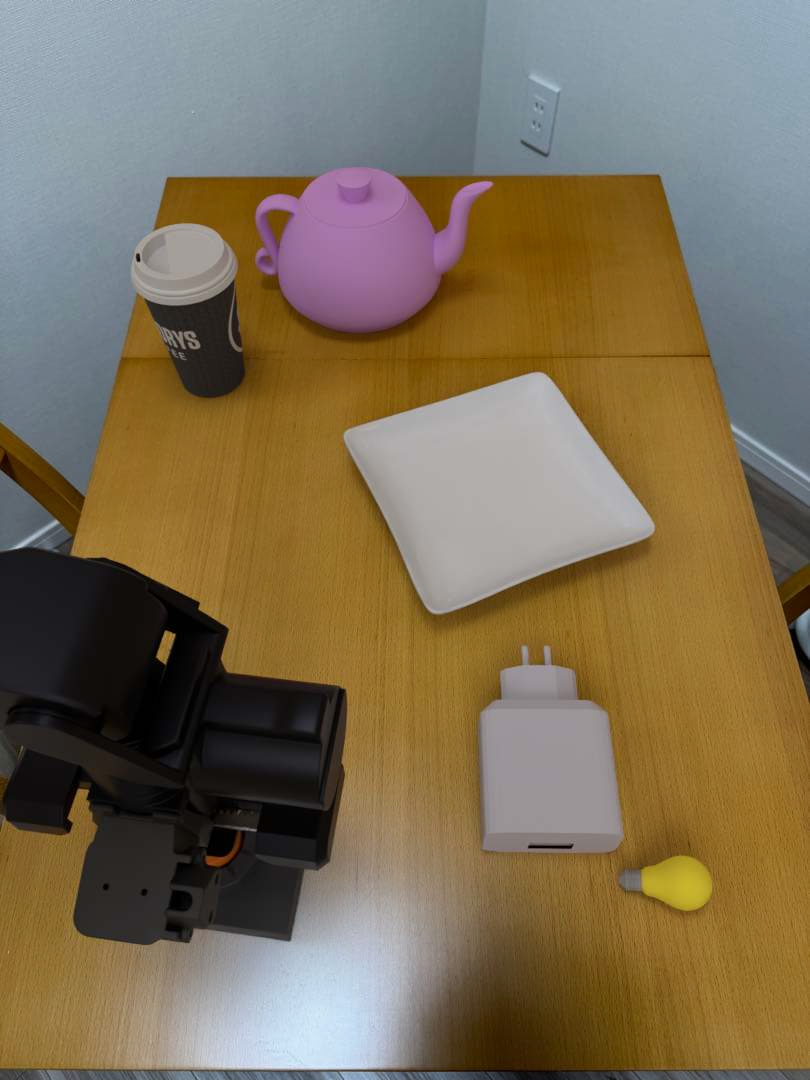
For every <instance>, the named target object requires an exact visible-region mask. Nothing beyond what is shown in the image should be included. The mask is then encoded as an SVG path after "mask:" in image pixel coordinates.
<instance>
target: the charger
mask: <svg viewBox="0 0 810 1080" xmlns="http://www.w3.org/2000/svg"><path fill="white" fill-rule="evenodd" d="M520 648H521V661H522V665H517V666H513V667H506V668H503V669H502V670H500V671H499V675H500V692H501V694H500V695H501V699H494V700H493V701H492V702H490V703H489V705H488V706H486V707H485V708H484V709H483V710H482V711H481V712H480V713H479V718H478V727H477V738H478V739H477V741H478V742H477V747H478V771H479V772H478V773H479V774H478V775H479V798H480V799H479V803H480V804H479V805H480V828H481V829H480V830H481V849H482V850H484V851H487V852H497V853H555V854H557V853H559V854H560V853H561V854H564V853H565V854H567V853H568V854H571V853H572V854H576V853H577V854H600V853H601V854H602V853H611V852H615V851H616V850H617V849H618V847H619V846H620V844H621V843H622V842H623V840H624V838H625V834H624V826H623V825H624V824H623V817H622V810H621V802H620V795H619V787H618V778H617V772H616V763H615V756H614V749H613V740H612V734H611V724H610V716H609V713H608V712H607V711H606V710H605V709H604V708H602V707H601V706H599V705H598V704H597V703H596V702H594V701H593V700H590V699H589V700H588V699H579V697H578V686H577V677H576V671H575V670H573V669H572V668H567V667H564V666H559V665H555V664H553V662H552V661H553V660H552V651H551V646H549V645H544V646H543V658H544V664H530V655H529V654H530V652H529V646H528V645H525V644H524V645H522V646H521V647H520ZM529 846H567V847H568V846H570V847H571V846H572V847H571V848H529Z"/></svg>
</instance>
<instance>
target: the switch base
mask: <svg viewBox="0 0 810 1080" xmlns="http://www.w3.org/2000/svg"><path fill="white" fill-rule="evenodd" d="M247 812H248V811H245V810H244V816H245V815H246V813H247ZM250 813H251V817H252V816H253V814H254V812H252V811H250ZM257 816H258V818H259V816H260V812H257ZM242 831H243V846H242V849H241V852H240V853H239V854H238V855H237V856H236V857H235V859H234V860H233V861H232V862H231V863H230V865H229V866H227V867H224V868H222V869H221V872H222V878H221V884H220V890H219V896H218V902H217V909H216V914H215V918H214V921H213V923H212V925H210V926H209V927H208V928H206V929H205V930H207V931H214V932H222V933H227V934H228V933H229V934H235V935H243V936H248V937H257V938H262V939H263V938H264V939H270V940H277V941H284V942H291V940H292V935H293V930H294V924H295V921H296V920H295V919H296V915H297V910H298V903H299V899H300V894H301V889H302V883H303V877H304V874H305V873H304V872H305V869H302V868H295V867H287V866H280V865H273V864H270V863H267V862H265V861H262V860H259V859H258V858H257V857H256V855H255V843H256V832H251V831H244V830H242Z"/></svg>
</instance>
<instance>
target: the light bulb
mask: <svg viewBox="0 0 810 1080" xmlns="http://www.w3.org/2000/svg"><path fill="white" fill-rule="evenodd" d="M618 884H619V885H620V886H621V887H622V888H623V889H624V890H625V892H631V891H632V892H634V891H635V892H638V893H639V892H642V893H643V894H644V895H646V896H647V897H651V898H656V899H658V900H660V901H661V902H663V903H665V904H667V905H668V906H670V907H672V908H674V909H677V910H681V911H685V912H689V911H696V910H698V909H700V908H702V907H704V905H706V903H708V901H709V900H710V898H711V896H712V893H713V884H714V883H713V878H712V876H711V873H710V872H709V870H708V868H707V867H706V866H705V865H704V864H703V863H702V862H701V861H700V860H699V859H696V858H694V857H693V856H689V855H685V854H681V855H673V856H671V857H669V858H666V859H664V860H662V861H660V862H658V863H656V864H655V865H645V866H644V867H643V868H642V869H641V870H640V869H637V870H636V869H634V870H633V869H626V868H625V870H623V872H622V873H621V874H620V875H619V876H618Z"/></svg>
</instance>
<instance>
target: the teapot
mask: <svg viewBox="0 0 810 1080" xmlns="http://www.w3.org/2000/svg"><path fill="white" fill-rule="evenodd" d="M493 185H494V182H492V181H489V180H488V181H487V180H485V181H478V182H474V183H471V184H467V185H466V186H464V187H462V188H461V189H460V190H459V191H457V193H456V194H455V195H454V198H453V199H452V202H451V205H450V211H449V220H448V223H447V225H446V227H445V228H443V229H441V230H440V231H438V232H436V231H435V229H434V227H433V224H432V222H431V220H430V218H429V217H428V215H427V213H426V211H425V210H424V208H423V207H422V205H421V204H420V202H418V200H417V199H416V198H415V196H414V195H413V193H412V191H410V189H409V188H408V187H407V186H406V184H405V183H403V182H402V181H401V180H400V179H399V178H398V177H396V176H395V175H393V174H391V173H389V172H386V171H384V170H381V169H378V168H373V167H365V166H364V167H363V166H350V167H344V168H343V167H342V168H338V169H334V170H331V171H328V172H326V173H323V174H322V175H320V176H318V177H316V178H315V179H314V180H313V181H311V183H309V185H308V186H307V187H306V188H305V190H303V192H302V194H301V195H300V197H299V198H297V197H295V196H293V195H289V194H285V193H277V194H273V195H270V196H267V197H265V198H264V199H263V200H261V202H260V203H259V204H258V206H257V208H256V211H255V215H254V218H255V226H256V230H257V233H258V235H259V237H260V240H261V242H262V243H263V245H264V246H263V247H261V248H259V249H258V250H257V252H256V254H255V255H254V262H255V267H256V268H257V269H258V270H259V272H261V273H262V274H264V275H266V276H271V277H274V276H277V277H278V283H279V287H280V291H281V292H282V294H283V296H284V297H285V299H286V301H287V302H288V303H289V304H290V305H291V307H292V308H293V309H295V310H296V311H297V312H298V313H299V314H301V315H302V316H304V317H305V318H306V319H308V320H310V321H312V322H313V323H315V324H317V325H320V326H322V327H324V328H327V329H330V330H333V331H336V332H342V333H348V334H349V333H350V334H368V333H369V334H370V333H376V332H380V331H385V330H389V329H391V328H394V327H397V326H399V325H400V324H402V323H404V322H406V321H407V320H409V319H411V318H412V317H413V316H415V315H416V314H417V313H419V312H420V311H421V310H422V309H423V308H424V307H425V306H426V305H427V304H428V303H430V301H431V300H432V298H433V297H434V296H435V294H436V293H437V291H438V288H439V287H440V283H441V281H442V275H443V274H445V273H447V272H448V271H450V270H451V269H452V268H453V267H454V266H456V264H457V263H458V262H459V260H460V258H461V257H462V255H463V253H464V250H465V246H466V243H467V242H466V241H467V236H468V223H469V217H470V211H471V209H472V206H473V204H474V203H475V201H476V200H477V199H478V198H479V197H480V196H481V195H483V194H484V193H485V192H487V191H488V190H489V189H490V188H492V187H493ZM273 211H283V212H287V213H290V215H289V217H288V218H287V221H286V223H285V225H284V228H283V231H282V234H281V237H280V241H279V243H278V240H277V238H276V236H275V234H274V232H273V230H272V228H271V225H270V223H269V219H268V213H269V212H273ZM266 257H268V258H270V259H271V260H269V259H268V258H266Z"/></svg>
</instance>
